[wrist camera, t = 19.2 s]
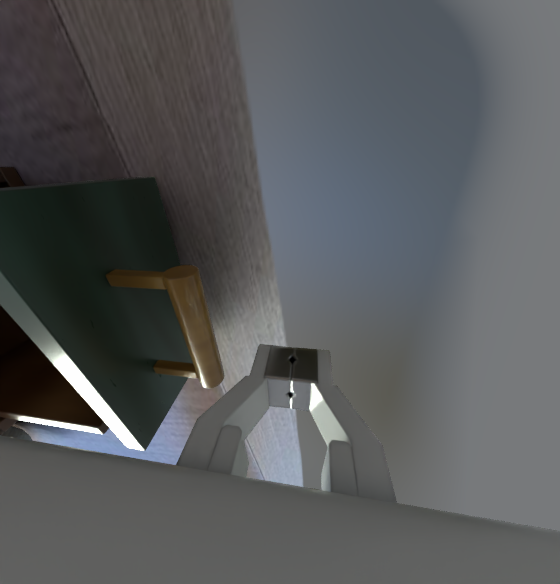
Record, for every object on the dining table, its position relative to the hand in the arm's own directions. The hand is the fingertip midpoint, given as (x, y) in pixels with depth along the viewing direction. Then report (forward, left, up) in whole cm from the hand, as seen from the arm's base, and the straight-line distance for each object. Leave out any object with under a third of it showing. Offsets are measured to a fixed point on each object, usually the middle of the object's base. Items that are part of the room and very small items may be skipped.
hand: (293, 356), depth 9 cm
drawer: (+14, 0, -6) cm, 15 cm away
